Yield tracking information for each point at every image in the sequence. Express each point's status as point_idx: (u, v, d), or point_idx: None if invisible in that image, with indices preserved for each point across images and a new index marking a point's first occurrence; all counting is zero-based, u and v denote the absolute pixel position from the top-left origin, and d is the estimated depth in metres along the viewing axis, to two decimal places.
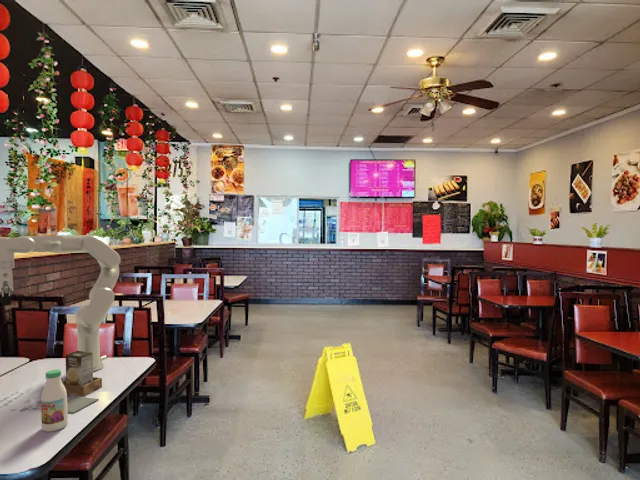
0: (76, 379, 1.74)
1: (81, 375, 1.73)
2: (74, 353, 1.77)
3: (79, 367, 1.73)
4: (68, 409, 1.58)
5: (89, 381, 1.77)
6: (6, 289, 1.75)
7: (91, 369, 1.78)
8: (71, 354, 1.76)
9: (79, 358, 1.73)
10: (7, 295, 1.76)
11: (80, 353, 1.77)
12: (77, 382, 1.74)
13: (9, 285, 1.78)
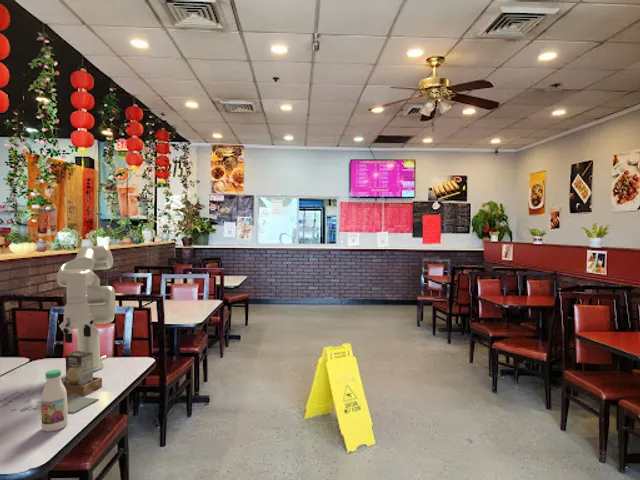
0: (76, 379, 1.74)
1: (81, 375, 1.73)
2: (74, 353, 1.77)
3: (79, 367, 1.73)
4: (68, 409, 1.58)
5: (89, 381, 1.77)
6: None
7: (91, 369, 1.78)
8: (71, 354, 1.76)
9: (79, 358, 1.73)
10: None
11: (80, 353, 1.77)
12: (77, 382, 1.74)
13: None
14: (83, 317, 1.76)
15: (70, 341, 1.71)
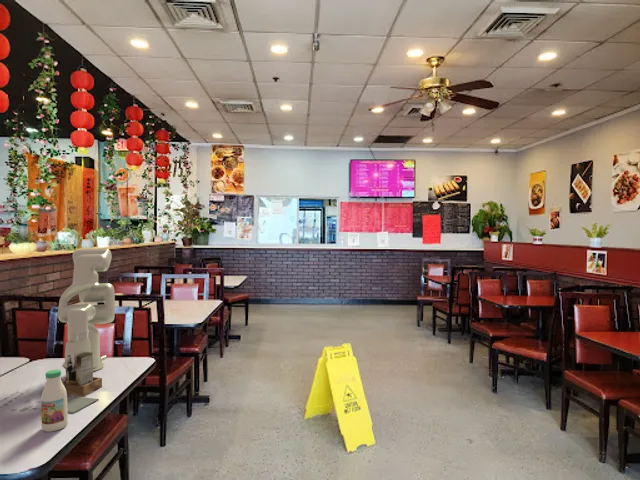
0: (76, 379, 1.74)
1: (81, 375, 1.73)
2: None
3: (79, 367, 1.73)
4: (68, 409, 1.58)
5: (89, 381, 1.77)
6: None
7: (91, 369, 1.78)
8: None
9: (79, 358, 1.73)
10: None
11: None
12: (77, 382, 1.74)
13: None
14: (84, 353, 1.77)
15: (74, 379, 1.73)
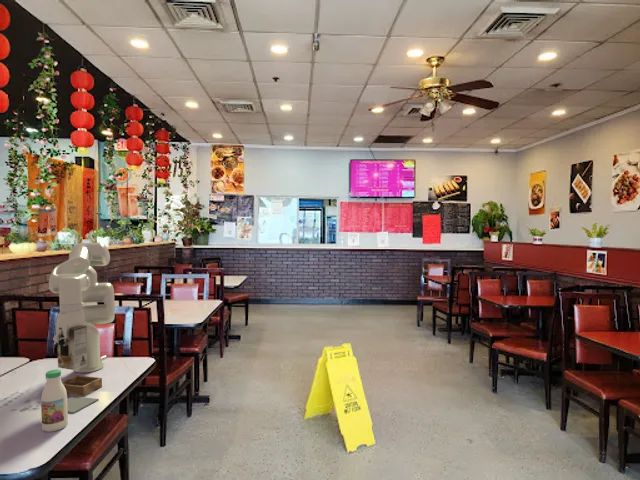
0: (68, 354, 1.58)
1: (74, 349, 1.58)
2: None
3: (72, 340, 1.57)
4: (68, 409, 1.58)
5: (83, 357, 1.61)
6: None
7: (85, 344, 1.62)
8: None
9: (72, 331, 1.57)
10: None
11: None
12: (69, 357, 1.58)
13: None
14: None
15: (66, 354, 1.58)
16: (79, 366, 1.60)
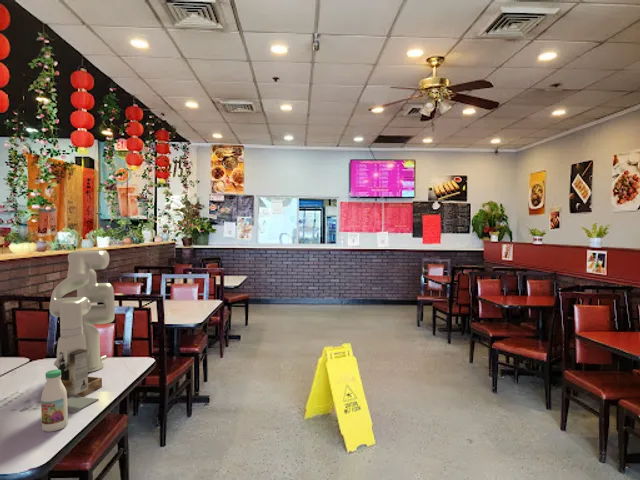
0: (69, 379, 1.58)
1: (75, 374, 1.58)
2: None
3: (72, 365, 1.58)
4: (68, 409, 1.58)
5: (84, 381, 1.62)
6: None
7: (86, 367, 1.63)
8: None
9: (72, 355, 1.57)
10: None
11: None
12: (70, 382, 1.58)
13: None
14: (78, 350, 1.62)
15: (67, 379, 1.58)
16: (80, 390, 1.60)
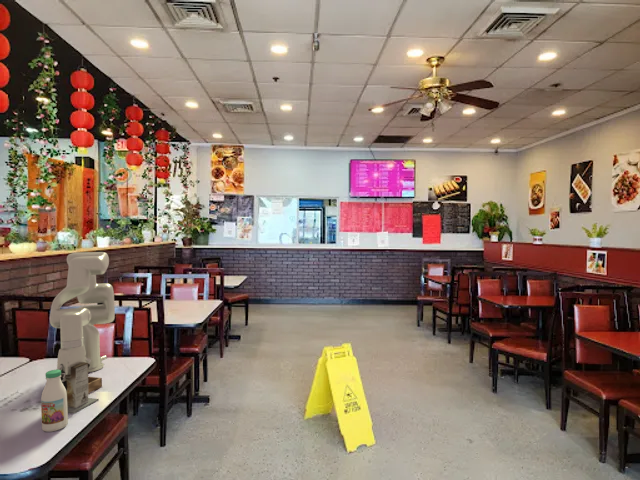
0: (69, 392, 1.59)
1: (75, 387, 1.58)
2: None
3: (73, 378, 1.58)
4: (68, 409, 1.58)
5: (84, 394, 1.62)
6: None
7: (86, 380, 1.63)
8: None
9: (73, 369, 1.58)
10: None
11: None
12: (70, 395, 1.59)
13: None
14: (79, 362, 1.62)
15: None
16: (80, 403, 1.61)
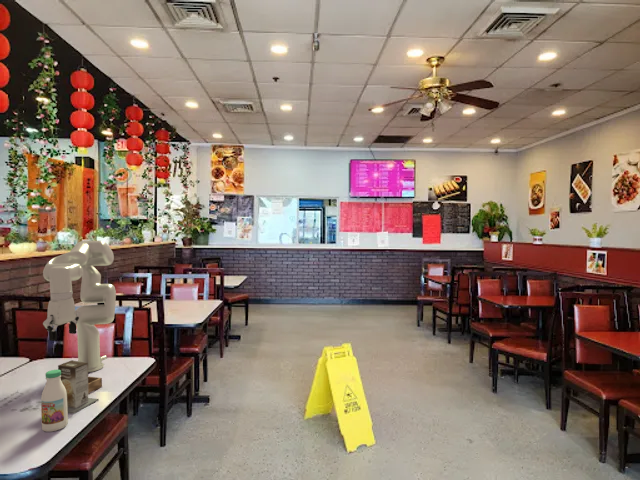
0: (69, 392, 1.59)
1: (75, 387, 1.58)
2: (68, 363, 1.62)
3: (73, 378, 1.58)
4: (68, 409, 1.58)
5: (84, 394, 1.62)
6: None
7: (86, 381, 1.63)
8: (64, 364, 1.61)
9: (73, 369, 1.58)
10: None
11: (74, 363, 1.62)
12: (70, 395, 1.59)
13: None
14: (68, 314, 1.69)
15: (55, 339, 1.64)
16: (80, 403, 1.61)
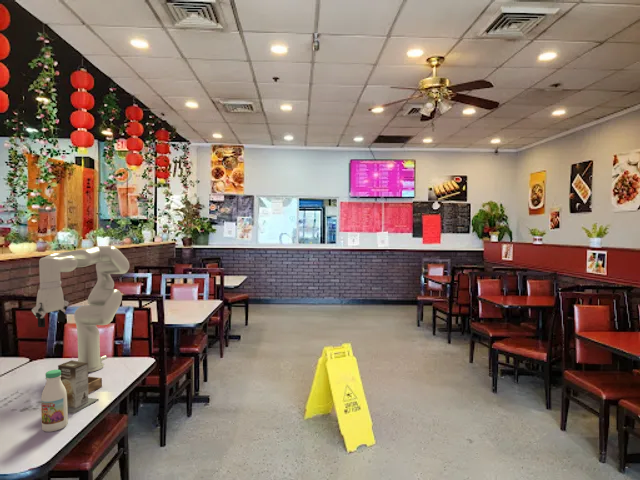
0: (69, 392, 1.59)
1: (75, 387, 1.58)
2: (67, 363, 1.62)
3: (73, 378, 1.58)
4: (68, 409, 1.58)
5: (84, 394, 1.62)
6: None
7: (86, 381, 1.63)
8: (64, 364, 1.61)
9: (73, 369, 1.58)
10: None
11: (74, 363, 1.62)
12: (70, 395, 1.59)
13: None
14: (56, 302, 1.78)
15: (43, 325, 1.74)
16: (80, 403, 1.61)
